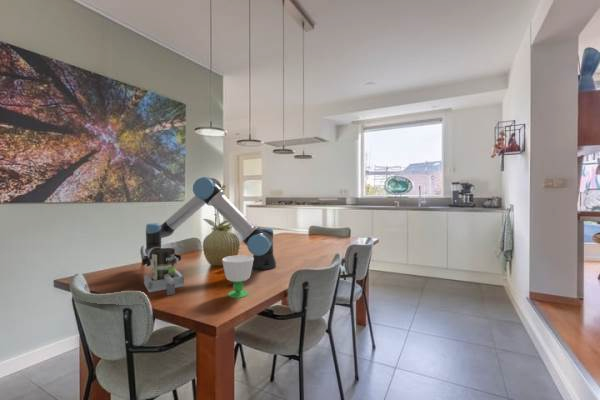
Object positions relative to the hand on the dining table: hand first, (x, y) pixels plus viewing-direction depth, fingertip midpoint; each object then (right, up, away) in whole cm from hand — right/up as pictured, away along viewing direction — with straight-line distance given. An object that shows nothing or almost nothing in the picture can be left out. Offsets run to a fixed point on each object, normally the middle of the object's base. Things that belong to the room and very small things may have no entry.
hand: (165, 263), depth 138 cm
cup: (+36, -12, -8) cm, 39 cm away
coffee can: (-3, -9, +4) cm, 10 cm away
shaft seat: (0, -11, 0) cm, 11 cm away
